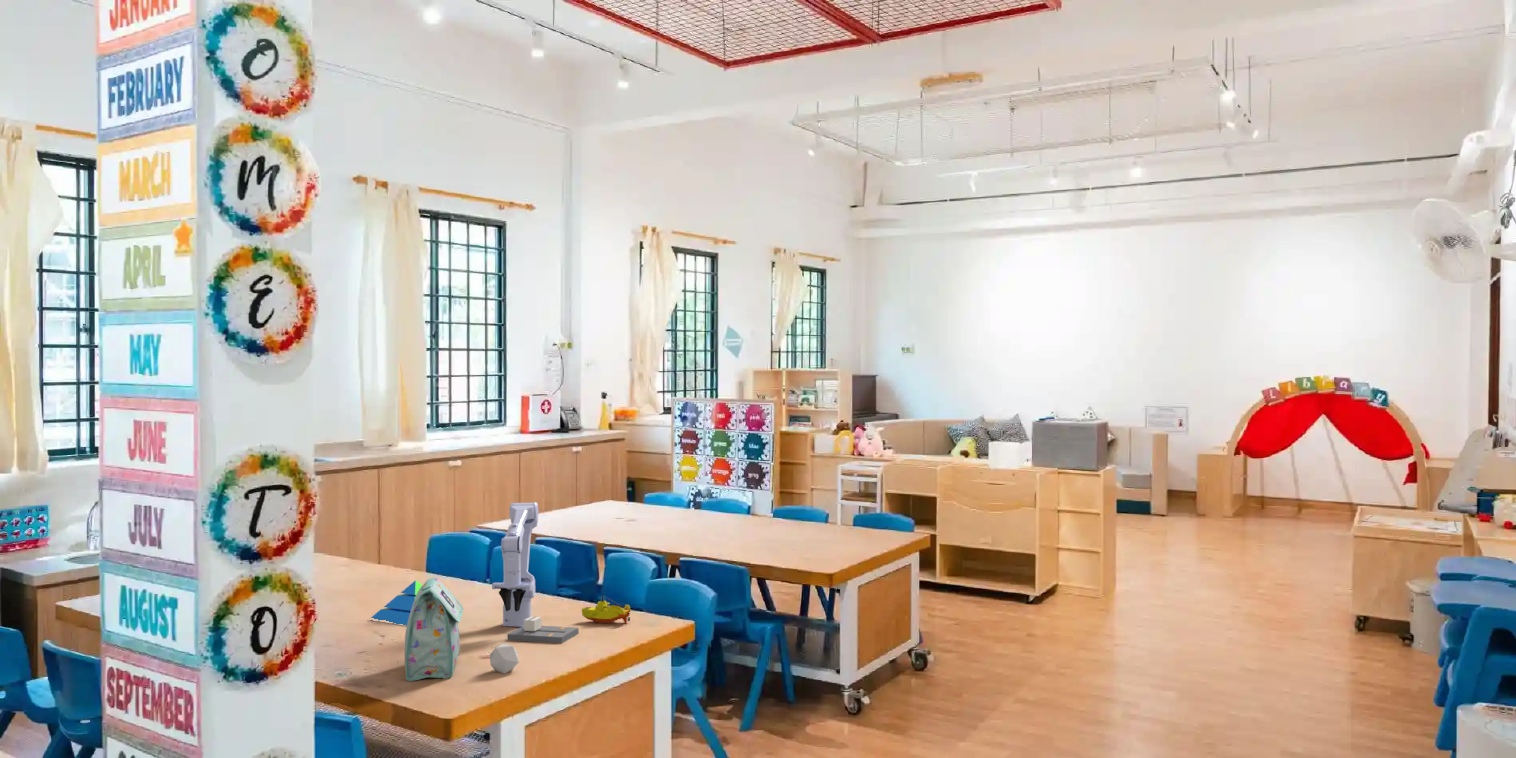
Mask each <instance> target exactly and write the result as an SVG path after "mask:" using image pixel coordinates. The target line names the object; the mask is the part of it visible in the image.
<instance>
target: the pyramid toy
mask: <svg viewBox="0 0 1516 758" xmlns="http://www.w3.org/2000/svg"><path fill="white" fill-rule="evenodd" d="M422 585H423V584H422V583H420V582H419V581H417V580H414V581H413V582H412V583H410V584H409V585H408V586H407V587H406V588H405V589H403V590H402V591H401V592H400V594H397V595H396V596H394V598H393V599H391V600H390V601H389V602H388V603H386V604H385V605H384V606H383V608H381V609H379V610H378V611H377V612H376V613H374V614H373V615H372V616H371V617H370V618H374V619H378V620H386V621H389V622H393V623H396V624H403V625H406V626H405V627H407V623H408V619H409V615H410V612H411V609H412V606H413V603H414V600H415V597H416V595H417V593H418V591H419V589H420V588H421V586H422ZM396 624H395V625H396Z"/></svg>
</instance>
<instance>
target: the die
mask: <svg viewBox="0 0 1516 758" xmlns="http://www.w3.org/2000/svg"><path fill="white" fill-rule="evenodd" d="M489 659H490V660H489V662H490V667H492V668H493V670H494V671H496V672H498V673H500V674H504V675H506V674H507V673H509V672H510V671H513V669H514V668H515V667H516V666H517V665H518V664H519V661H520V660H519V653H518V651H517V649H516V648H515V647H514V645H510V644H507V643H504V642H503V643H502V644H500V645H497V647H494V649H493V651H491V653H490V654H489Z"/></svg>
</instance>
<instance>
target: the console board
mask: <svg viewBox="0 0 1516 758" xmlns="http://www.w3.org/2000/svg"><path fill="white" fill-rule="evenodd" d="M579 630H580V629H579V627H575V626H574V627H572V626H571V627H570V626H555V625H541V628H540V629H538V630H536V631H524V626H523V627H518V628H517V629H515V630H513V631H511V632H509V633H507V634H506V635H507V636H506V637H507V641H516V642H517V641H518V642H519V641H520V642H535V643H538V642H539V643H546V644H547V643H551V644H563V643H565V642H567V641H568V640H570V639H571V638H573V637H576V636H577V635H578V634H579Z"/></svg>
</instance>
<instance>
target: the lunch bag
mask: <svg viewBox="0 0 1516 758" xmlns="http://www.w3.org/2000/svg"><path fill="white" fill-rule="evenodd" d="M463 613H464V607H463V605H462V603H461V602H460V601H459V600H458V599H457V598H456V597H455V596H454V594H453V593H452V592H451V591H450V590H449V589H448V588H447V587H446V586H445V585H444V583H443V582H442V581H441V580H440V579H439V578H438V577H431V578H428V579H426V581H425V582H424V583H423V584H422V586H421V588H420V589H419V591H418V593H417V595H416V597H415V600H414V603H413V606H412V609H411V612H410V615H409V619H408V623H407V626H405V627H406V629H405V633H404V668H405V679H406V681H408V682H412V681H419V680H422V679H426V678H435V679H442V678H443V679H449V678H452V677H453V675H454V672H455V669H456V668H455V667H456V665H457V661H458V658H459V655H460V649H461V648H460V646H461V645H460V630H459V629H460V628H459V623H460V622H461V618H462V616H463Z"/></svg>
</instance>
